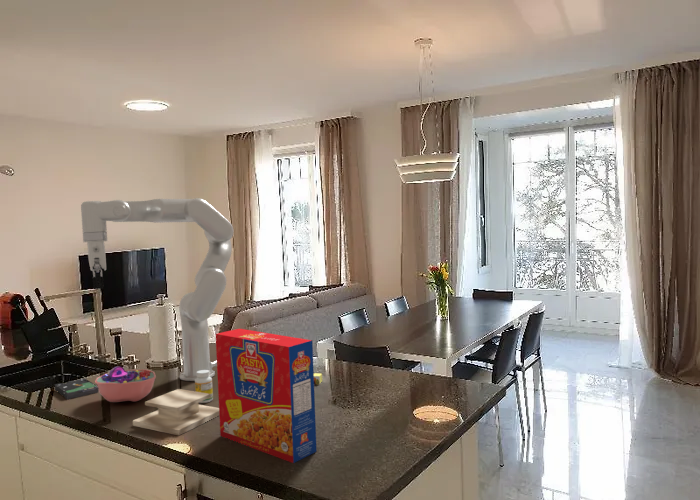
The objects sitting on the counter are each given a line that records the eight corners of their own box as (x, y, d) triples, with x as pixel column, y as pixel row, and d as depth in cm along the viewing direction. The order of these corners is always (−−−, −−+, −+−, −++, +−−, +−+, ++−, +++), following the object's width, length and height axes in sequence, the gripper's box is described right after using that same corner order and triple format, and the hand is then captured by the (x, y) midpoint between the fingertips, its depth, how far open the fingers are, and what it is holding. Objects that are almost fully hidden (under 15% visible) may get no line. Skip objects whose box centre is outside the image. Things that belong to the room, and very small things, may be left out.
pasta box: (220, 436, 149) (215, 333, 147) (243, 426, 155) (239, 328, 153) (293, 463, 131) (288, 347, 129) (316, 451, 137) (312, 340, 135)
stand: (179, 405, 174) (178, 385, 174) (223, 413, 166) (222, 392, 166) (132, 425, 159) (131, 403, 158) (179, 435, 150) (177, 412, 150)
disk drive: (54, 392, 195) (67, 400, 185) (53, 384, 195) (66, 392, 184) (85, 385, 202) (99, 393, 192) (84, 377, 202) (98, 385, 192)
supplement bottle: (214, 401, 177) (212, 372, 177) (197, 404, 175) (195, 374, 175) (211, 396, 182) (210, 368, 182) (194, 399, 180) (193, 370, 180)
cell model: (133, 412, 170) (131, 376, 169) (83, 406, 177) (81, 372, 176) (169, 395, 186) (167, 362, 185) (122, 390, 193) (120, 358, 192)
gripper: (108, 237, 182) (111, 289, 183) (106, 236, 197) (109, 284, 198) (82, 238, 179) (86, 291, 180) (83, 237, 194) (86, 285, 195)
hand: (98, 287), depth 189 cm, fingers open, 9 cm apart
